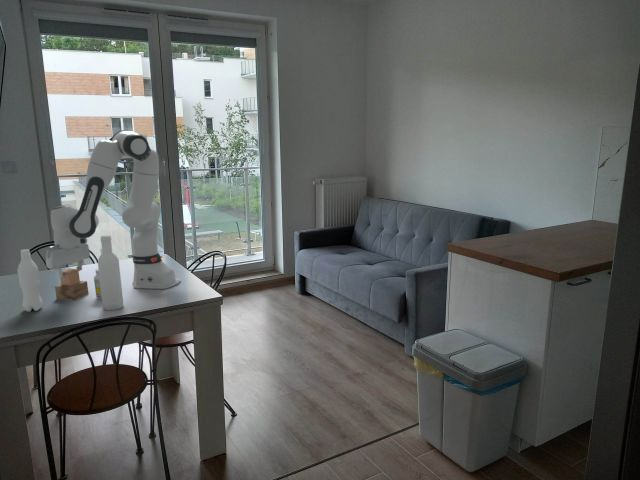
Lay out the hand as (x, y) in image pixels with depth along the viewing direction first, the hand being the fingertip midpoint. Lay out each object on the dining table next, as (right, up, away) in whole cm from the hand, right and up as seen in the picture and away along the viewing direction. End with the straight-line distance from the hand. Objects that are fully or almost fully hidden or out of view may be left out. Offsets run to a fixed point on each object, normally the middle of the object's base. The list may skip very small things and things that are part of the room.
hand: (71, 273), depth 210 cm
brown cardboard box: (0, -5, 0) cm, 5 cm away
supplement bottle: (+15, -11, 0) cm, 18 cm away
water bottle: (-8, -14, -14) cm, 22 cm away
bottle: (+24, -13, -13) cm, 31 cm away
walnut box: (0, -11, +2) cm, 11 cm away
